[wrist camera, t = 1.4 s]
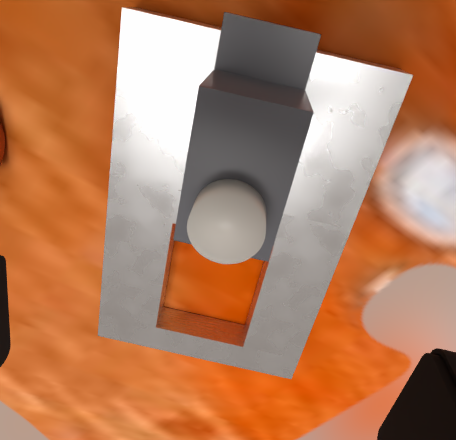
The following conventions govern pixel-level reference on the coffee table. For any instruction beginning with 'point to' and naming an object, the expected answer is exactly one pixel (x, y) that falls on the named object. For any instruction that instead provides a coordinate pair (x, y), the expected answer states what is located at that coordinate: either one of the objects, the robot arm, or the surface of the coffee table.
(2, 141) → the toy helicopter
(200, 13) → the coffee table surface
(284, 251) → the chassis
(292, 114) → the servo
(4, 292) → the robot arm
